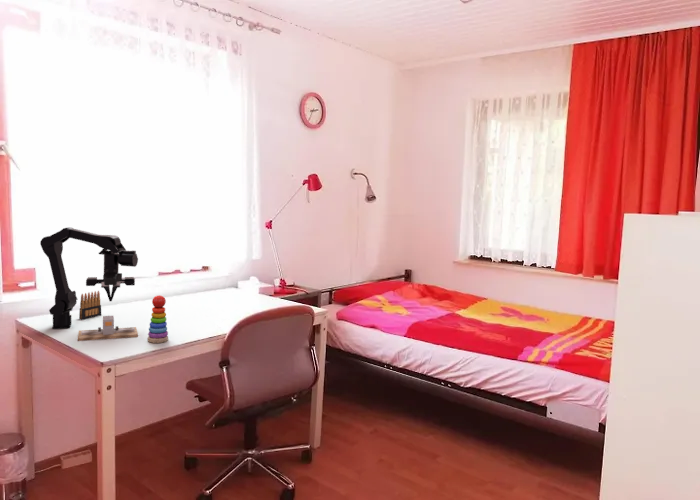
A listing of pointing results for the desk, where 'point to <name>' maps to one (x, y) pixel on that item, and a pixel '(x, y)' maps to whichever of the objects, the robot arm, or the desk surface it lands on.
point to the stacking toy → (158, 321)
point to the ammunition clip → (90, 306)
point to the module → (108, 325)
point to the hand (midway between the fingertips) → (110, 301)
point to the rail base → (99, 335)
